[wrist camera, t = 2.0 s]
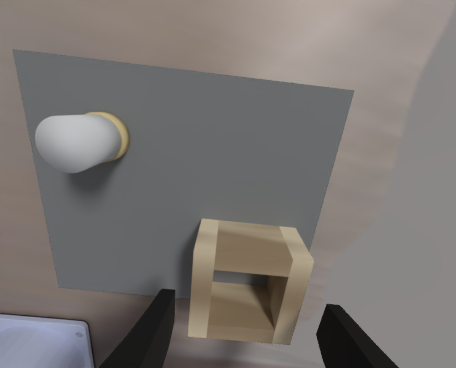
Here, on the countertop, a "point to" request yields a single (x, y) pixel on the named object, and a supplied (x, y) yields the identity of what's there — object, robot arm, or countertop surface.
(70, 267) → the post mat
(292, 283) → the collar
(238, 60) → the countertop surface
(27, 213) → the countertop surface
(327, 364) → the robot arm
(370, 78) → the countertop surface
